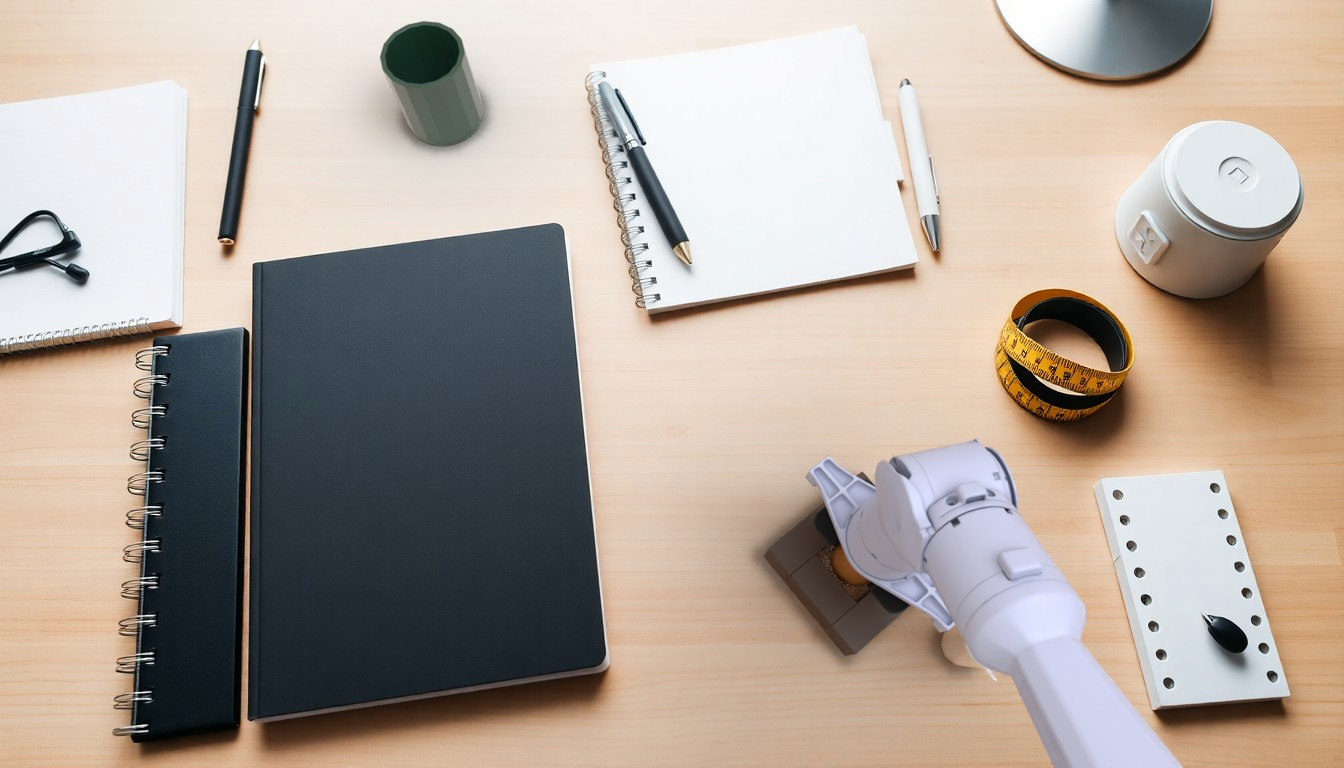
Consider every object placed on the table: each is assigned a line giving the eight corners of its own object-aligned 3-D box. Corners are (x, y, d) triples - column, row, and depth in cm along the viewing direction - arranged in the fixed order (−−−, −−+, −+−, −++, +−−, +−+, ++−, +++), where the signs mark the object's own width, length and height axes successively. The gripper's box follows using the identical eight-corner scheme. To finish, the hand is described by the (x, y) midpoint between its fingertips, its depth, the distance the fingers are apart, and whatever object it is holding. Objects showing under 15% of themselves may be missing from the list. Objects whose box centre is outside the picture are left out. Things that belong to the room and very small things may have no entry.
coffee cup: (498, 119, 88) (479, 59, 80) (434, 159, 86) (409, 101, 78) (456, 72, 90) (434, 8, 82) (393, 109, 89) (364, 48, 80)
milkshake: (923, 671, 69) (963, 667, 59) (941, 609, 71) (982, 596, 61) (976, 692, 68) (1025, 692, 59) (993, 630, 70) (1042, 620, 61)
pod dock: (936, 576, 72) (950, 569, 68) (845, 656, 69) (855, 654, 66) (852, 482, 74) (862, 470, 71) (762, 555, 72) (767, 548, 68)
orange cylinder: (887, 566, 70) (913, 551, 62) (852, 596, 69) (874, 584, 61) (854, 529, 71) (876, 509, 63) (820, 558, 70) (838, 542, 63)
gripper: (1023, 577, 54) (956, 599, 67) (871, 412, 58) (835, 462, 71) (947, 647, 53) (893, 656, 65) (796, 472, 57) (773, 513, 69)
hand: (859, 558), depth 68 cm, fingers closed on orange cylinder, 4 cm apart
